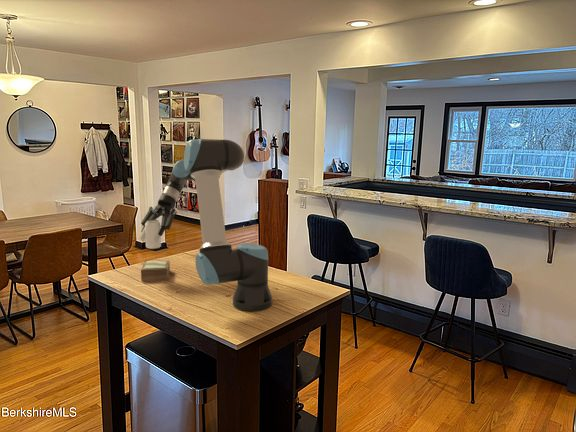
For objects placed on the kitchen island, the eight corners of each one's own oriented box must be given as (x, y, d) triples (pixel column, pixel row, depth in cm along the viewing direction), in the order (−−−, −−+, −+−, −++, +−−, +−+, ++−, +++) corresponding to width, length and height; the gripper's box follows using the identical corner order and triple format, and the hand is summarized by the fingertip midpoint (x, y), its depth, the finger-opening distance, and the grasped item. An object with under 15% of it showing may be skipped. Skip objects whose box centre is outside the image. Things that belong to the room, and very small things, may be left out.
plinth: (167, 279, 185) (166, 268, 184) (141, 280, 182) (140, 269, 182) (169, 270, 197) (169, 259, 196) (145, 271, 195) (145, 260, 194)
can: (155, 249, 182) (154, 222, 180) (142, 248, 184) (141, 221, 182) (164, 246, 188) (163, 220, 186) (151, 244, 190) (150, 219, 188)
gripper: (190, 205, 194) (170, 247, 182) (154, 202, 200) (134, 242, 188) (183, 195, 188) (163, 238, 176) (147, 192, 194) (125, 233, 182)
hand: (148, 240), depth 182 cm, fingers closed on can, 6 cm apart
